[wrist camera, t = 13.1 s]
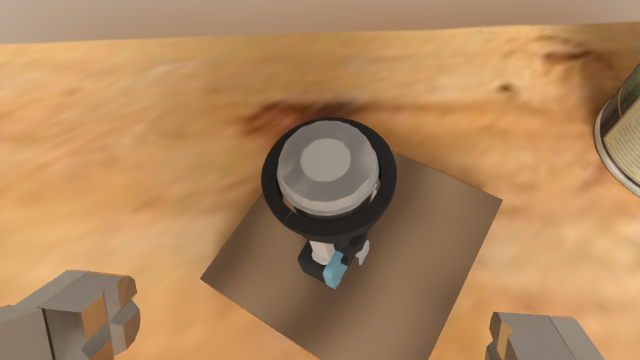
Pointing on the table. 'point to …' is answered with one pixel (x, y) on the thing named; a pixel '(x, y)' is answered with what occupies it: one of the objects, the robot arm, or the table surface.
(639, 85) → the coffee can
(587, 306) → the table surface
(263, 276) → the plinth
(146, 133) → the table surface
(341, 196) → the push button
